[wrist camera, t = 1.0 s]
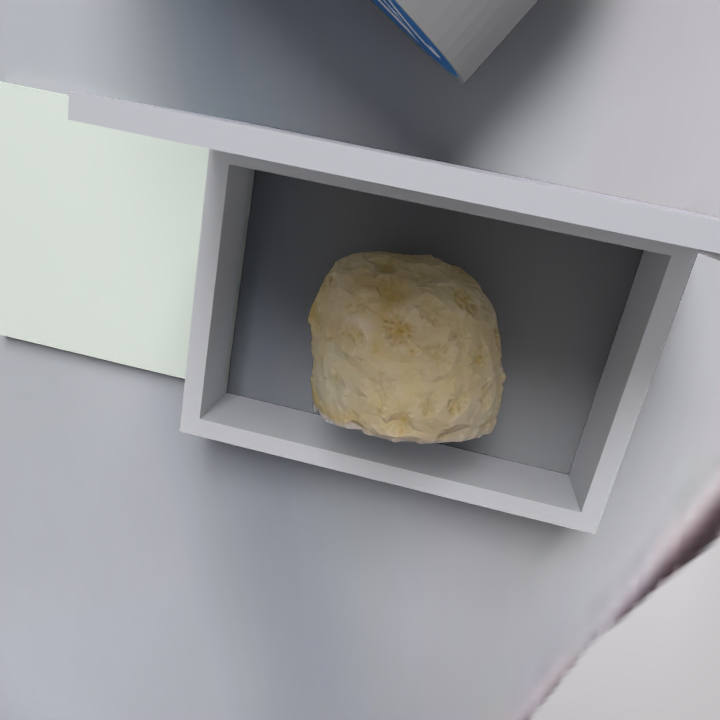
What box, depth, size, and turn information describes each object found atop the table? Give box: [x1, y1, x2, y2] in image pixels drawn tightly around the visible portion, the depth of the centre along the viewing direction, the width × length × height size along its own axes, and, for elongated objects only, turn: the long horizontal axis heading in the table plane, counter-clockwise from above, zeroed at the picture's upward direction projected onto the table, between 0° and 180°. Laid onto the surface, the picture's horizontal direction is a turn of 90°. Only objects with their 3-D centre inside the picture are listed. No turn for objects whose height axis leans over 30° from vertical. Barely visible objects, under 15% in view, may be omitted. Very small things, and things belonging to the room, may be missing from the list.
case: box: [68, 90, 720, 534], centre depth 27 cm, size 23×16×15 cm
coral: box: [308, 251, 506, 444], centre depth 30 cm, size 10×10×10 cm
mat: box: [0, 81, 255, 388], centre depth 35 cm, size 14×14×1 cm
